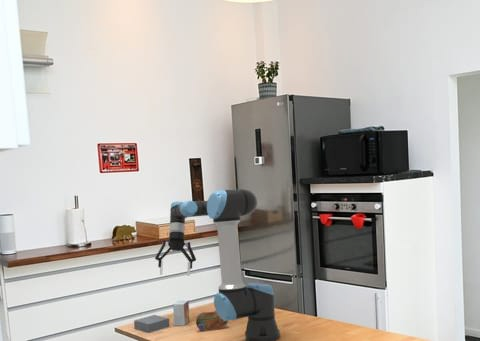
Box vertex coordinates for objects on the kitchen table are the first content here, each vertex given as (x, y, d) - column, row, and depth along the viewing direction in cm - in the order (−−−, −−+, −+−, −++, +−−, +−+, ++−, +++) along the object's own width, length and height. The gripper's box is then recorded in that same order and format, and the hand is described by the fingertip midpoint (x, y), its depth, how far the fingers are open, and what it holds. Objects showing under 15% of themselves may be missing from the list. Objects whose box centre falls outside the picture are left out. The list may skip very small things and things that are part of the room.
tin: (197, 332, 221) (196, 314, 222) (195, 330, 224) (194, 312, 225) (228, 328, 225) (227, 310, 226) (227, 326, 228) (226, 308, 229)
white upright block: (184, 326, 233) (183, 304, 233) (173, 326, 234) (172, 304, 234) (189, 321, 241) (188, 300, 241) (179, 321, 242) (178, 300, 242)
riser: (169, 326, 233) (169, 318, 233) (148, 332, 224) (148, 324, 225) (154, 322, 241) (154, 314, 242) (134, 328, 233) (134, 320, 233)
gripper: (199, 235, 250) (198, 276, 243) (151, 232, 243) (148, 274, 236) (202, 232, 243) (201, 275, 236) (153, 229, 236) (150, 273, 229)
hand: (174, 275), depth 236 cm, fingers open, 13 cm apart
